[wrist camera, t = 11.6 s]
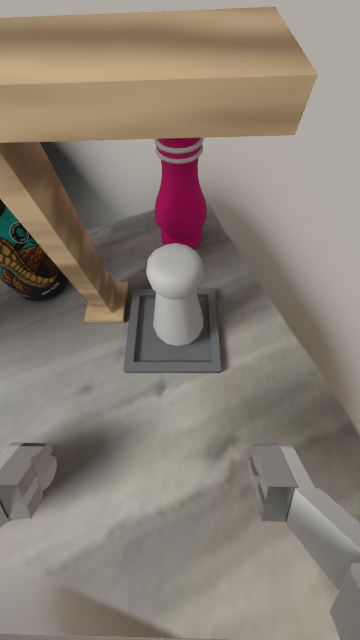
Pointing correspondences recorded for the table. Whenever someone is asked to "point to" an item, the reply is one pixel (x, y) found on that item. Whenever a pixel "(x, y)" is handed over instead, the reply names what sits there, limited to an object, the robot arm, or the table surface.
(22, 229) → the beverage can
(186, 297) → the salt shaker
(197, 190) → the pepper mill
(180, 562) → the table surface
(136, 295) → the tray
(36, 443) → the robot arm
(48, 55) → the shelf
